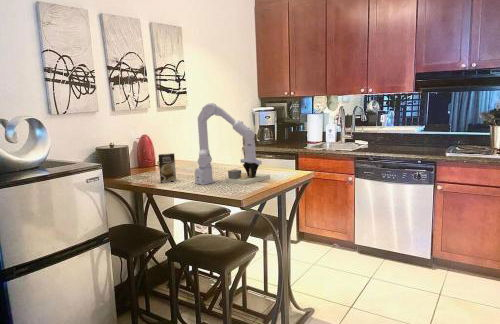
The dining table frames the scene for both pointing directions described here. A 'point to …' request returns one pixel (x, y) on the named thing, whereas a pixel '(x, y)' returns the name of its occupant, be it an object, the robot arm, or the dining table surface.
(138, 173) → the dining table surface
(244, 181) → the pin board
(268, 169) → the dining table surface
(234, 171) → the grey chamfered cube
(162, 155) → the coffee box
